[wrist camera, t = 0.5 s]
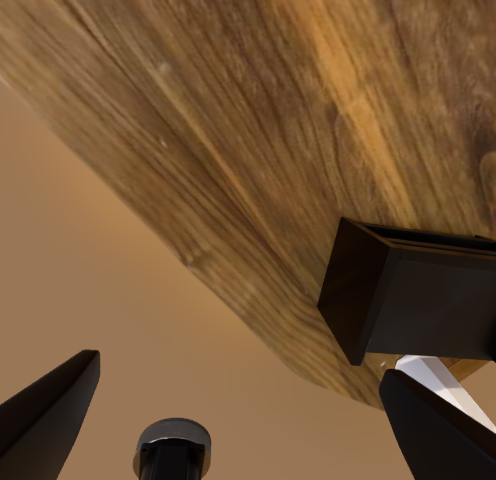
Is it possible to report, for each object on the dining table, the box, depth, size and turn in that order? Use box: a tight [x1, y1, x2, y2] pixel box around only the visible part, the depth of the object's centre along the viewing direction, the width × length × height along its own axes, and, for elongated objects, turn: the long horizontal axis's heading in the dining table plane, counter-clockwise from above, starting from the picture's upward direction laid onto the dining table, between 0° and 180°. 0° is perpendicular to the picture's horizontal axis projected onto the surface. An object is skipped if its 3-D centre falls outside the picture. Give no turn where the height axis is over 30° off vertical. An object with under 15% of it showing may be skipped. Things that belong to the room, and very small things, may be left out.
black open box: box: [317, 217, 496, 366], centre depth 23 cm, size 9×14×8 cm, turn 81°
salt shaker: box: [395, 355, 496, 433], centre depth 25 cm, size 5×5×11 cm
